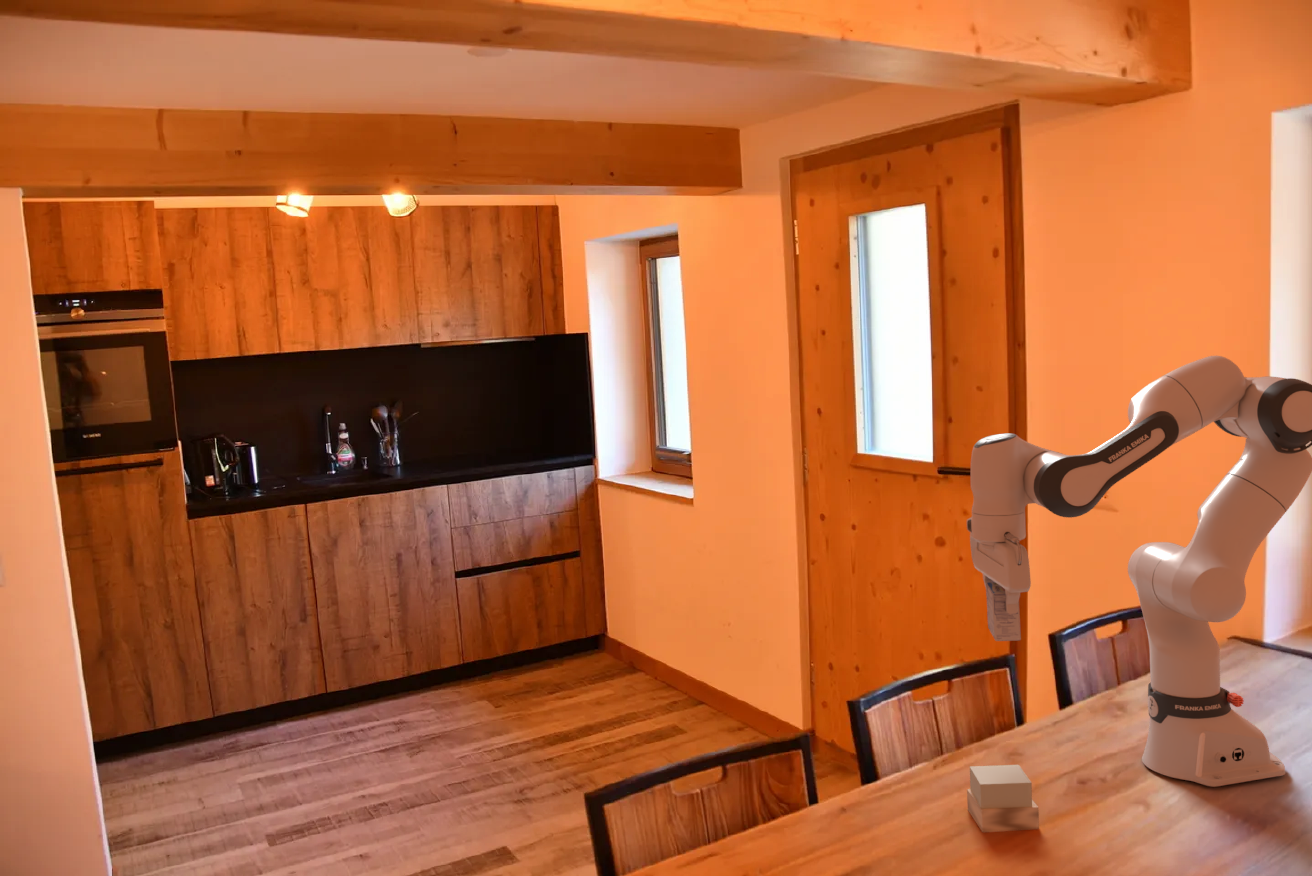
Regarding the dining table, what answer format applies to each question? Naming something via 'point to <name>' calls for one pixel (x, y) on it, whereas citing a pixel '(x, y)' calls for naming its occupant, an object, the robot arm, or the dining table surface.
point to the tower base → (1003, 816)
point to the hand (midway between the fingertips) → (1001, 605)
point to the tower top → (1000, 786)
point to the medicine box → (1001, 615)
